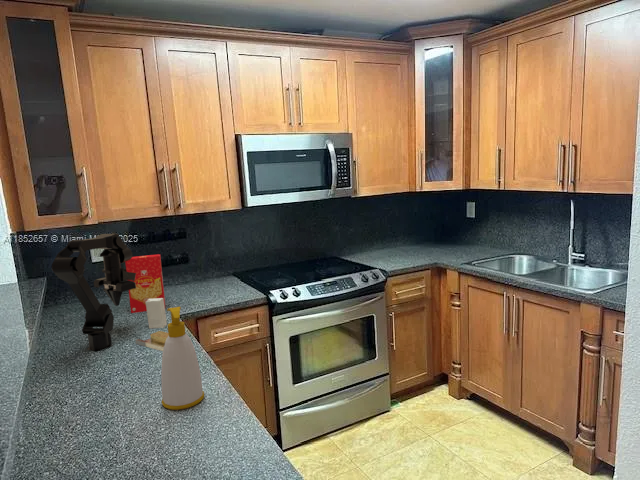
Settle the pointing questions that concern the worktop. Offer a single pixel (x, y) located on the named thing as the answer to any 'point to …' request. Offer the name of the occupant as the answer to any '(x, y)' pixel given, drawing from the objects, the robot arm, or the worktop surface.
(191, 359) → the soap bottle
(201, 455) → the worktop surface
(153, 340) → the chip
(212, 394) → the worktop surface
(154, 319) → the skincare box
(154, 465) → the worktop surface
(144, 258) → the food packaging
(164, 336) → the chip
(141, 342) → the slot board
